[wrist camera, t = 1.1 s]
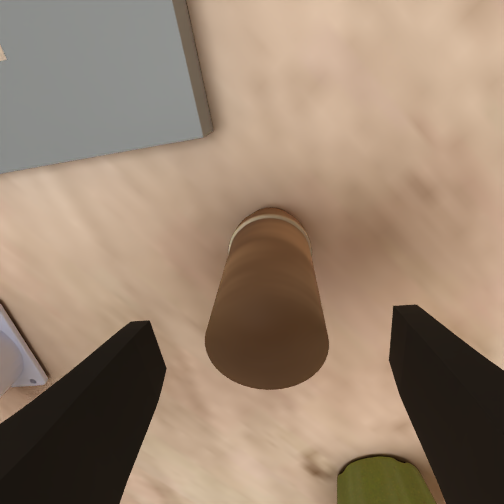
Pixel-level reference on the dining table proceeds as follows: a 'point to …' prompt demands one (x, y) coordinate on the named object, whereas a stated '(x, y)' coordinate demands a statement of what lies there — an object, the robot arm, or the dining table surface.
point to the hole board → (96, 79)
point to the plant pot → (382, 483)
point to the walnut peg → (268, 306)
